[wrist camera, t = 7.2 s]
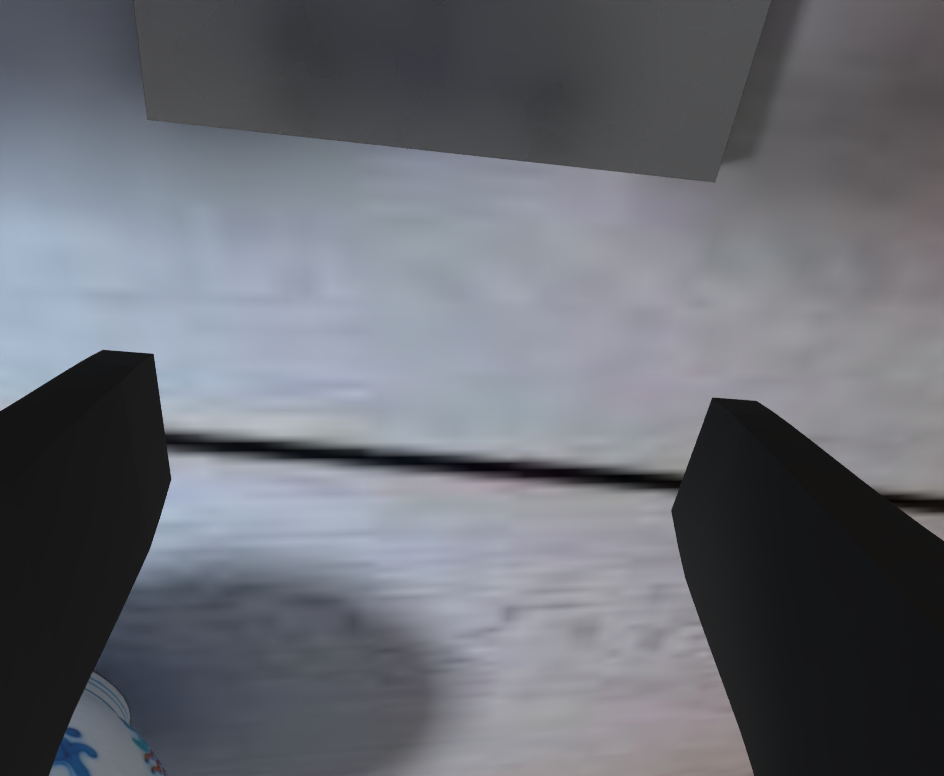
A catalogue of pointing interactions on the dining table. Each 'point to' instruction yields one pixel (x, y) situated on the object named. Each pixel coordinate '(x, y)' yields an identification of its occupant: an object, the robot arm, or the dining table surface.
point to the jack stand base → (463, 75)
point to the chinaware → (103, 738)
